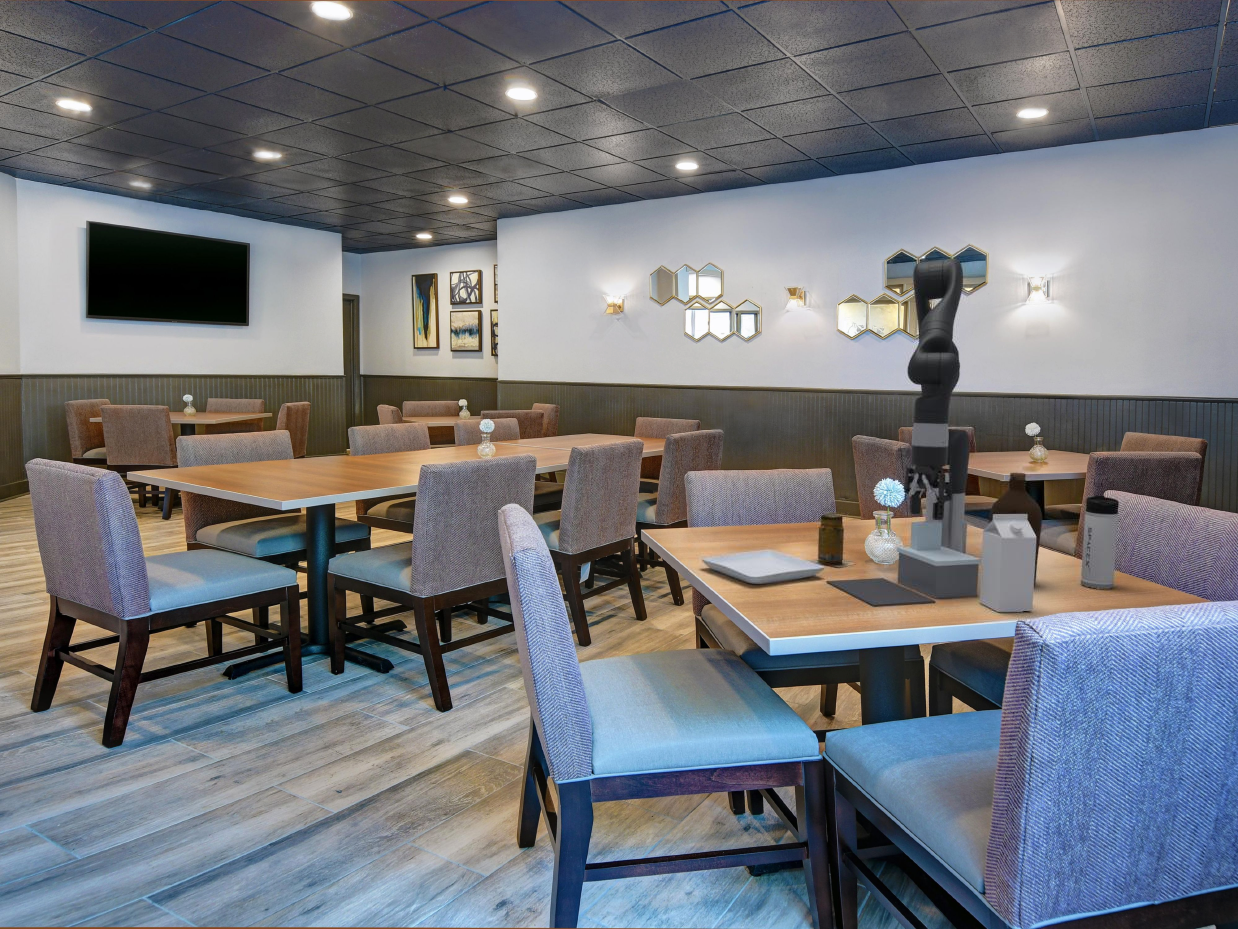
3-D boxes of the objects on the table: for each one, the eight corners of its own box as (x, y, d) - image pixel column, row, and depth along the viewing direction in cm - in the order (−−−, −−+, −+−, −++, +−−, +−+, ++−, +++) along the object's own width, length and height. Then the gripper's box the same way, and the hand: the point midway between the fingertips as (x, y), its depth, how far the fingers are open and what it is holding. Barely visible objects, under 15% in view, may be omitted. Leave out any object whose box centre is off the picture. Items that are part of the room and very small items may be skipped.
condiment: (827, 558, 208) (829, 512, 207) (855, 564, 201) (857, 516, 200) (809, 562, 203) (811, 515, 202) (838, 568, 197) (839, 519, 196)
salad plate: (752, 590, 176) (752, 575, 176) (698, 570, 195) (698, 556, 195) (827, 580, 186) (827, 565, 186) (769, 562, 205) (769, 548, 205)
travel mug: (1108, 583, 183) (1114, 496, 181) (1116, 590, 177) (1122, 500, 175) (1077, 581, 185) (1083, 494, 183) (1083, 588, 179) (1089, 498, 177)
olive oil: (1047, 589, 178) (1054, 476, 175) (999, 589, 178) (1005, 475, 175) (1023, 578, 188) (1030, 470, 186) (978, 577, 188) (983, 470, 186)
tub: (897, 582, 183) (899, 551, 182) (936, 580, 185) (938, 550, 185) (935, 598, 170) (936, 565, 169) (977, 595, 172) (978, 563, 171)
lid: (896, 556, 183) (898, 521, 182) (938, 554, 185) (940, 519, 184) (936, 571, 169) (937, 532, 168) (980, 569, 171) (982, 531, 170)
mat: (882, 579, 186) (882, 577, 186) (935, 602, 166) (935, 600, 166) (826, 582, 182) (826, 580, 182) (873, 606, 163) (873, 604, 163)
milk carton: (978, 603, 166) (983, 511, 164) (1012, 602, 167) (1017, 511, 165) (997, 613, 159) (1003, 517, 157) (1032, 612, 160) (1038, 517, 158)
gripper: (965, 446, 173) (961, 521, 174) (925, 441, 187) (922, 511, 188) (933, 446, 171) (930, 522, 173) (896, 441, 185) (893, 512, 186)
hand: (926, 516), depth 180 cm, fingers open, 8 cm apart
